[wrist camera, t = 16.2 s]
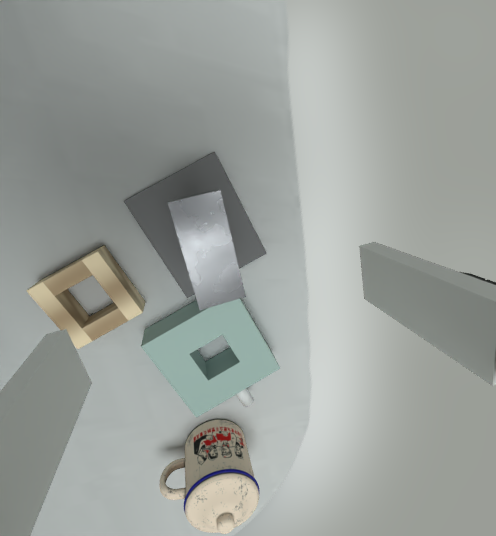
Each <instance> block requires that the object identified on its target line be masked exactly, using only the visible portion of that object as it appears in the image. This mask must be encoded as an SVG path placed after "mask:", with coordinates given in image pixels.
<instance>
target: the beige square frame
mask: <svg viewBox="0 0 496 536" xmlns="http://www.w3.org/2000/svg"><path fill="white" fill-rule="evenodd" d="M92 275H93V276H94V277H95V278H96V280H97V281H98V282H99V284H100V285H101V286H102V287H103V289H104V290H105V291H106V293H107V294H108V295H109V297H110V298H111V299H112V300H113V302H114V303H113V304H111V305H109V306H107V307H106V308H104V309H102V310H100V311H99V312H97V313H95V314H93V315H91V316H89V315H88V314H87V313H86V312H85V310H84V309H83V308H82V307H81V305H80V304H79V303H78V302H77V301H76V299H75V298H74V297H73V296H72V294H71V293H70V292H69V291H68V290H67V289H68V288H70V287H72V286H74V285H75V284H77V283H79V282H81V281H83V280H84V279H86V278H88V277H90V276H92ZM27 292H28V293H29V295H30V296H31V297H32V298H33V299H34V300H35V301H36V302H37V304H38V305H39V306H40V307H41V308H42V309H43V310H44V312H45V313H46V314H47V315H48V316H49V317H50V318H51V320H52V321H53V322H54V323H55V324H56V325H57V326H58V327H59V329H60V330H64V329H67V332H68V334H69V336H70V338H71V340H72V342H73V344H74V346H75V347H76V348H77V349H79V348H81V347H83V346H85V345H86V344H88V343H90V342H92V341H93V340H95V339H97V338H99V337H100V336H102V335H104V334H106V333H108V332H109V331H111V330H113V329H115V328H116V327H118V326H120V325H122V324H123V323H125V322H127V321H129V320H131V319H132V318H134V317H136V316H138V315H139V314H141V313H143V309H144V306H145V301H144V299H143V298H142V297H141V295H140V294H139V292H138V291H137V290H136V288H135V287H134V285H133V284H132V283H131V281H130V280H129V279H128V277H127V276H126V274H125V273H124V272H123V270H122V269H121V267H120V266H119V265H118V263H117V262H116V261H115V259H114V258H113V256H112V255H111V254H110V252H109V251H108V249H107V248H106V247H105V245H104V246H102V247H100V248H98V249H96V250H95V251H93V252H91V253H89V254H87V255H86V256H84V257H82V258H80V259H78V260H76V261H75V262H73V263H71V264H69V265H67V266H66V267H64V268H62V269H60V270H58V271H57V272H55V273H53V274H51V275H49V276H47V277H46V278H44V279H42V280H40V281H39V282H37V283H36V284H35V285H33V286H32V287H31V288H29V289H28V290H27Z"/></svg>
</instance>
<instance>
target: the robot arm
mask: <svg viewBox="0 0 496 536" xmlns="http://www.w3.org/2000/svg"><path fill="white" fill-rule="evenodd" d="M360 257H361V268H362V279H363V290H364V299H366V300H367V301H368V302H370V303H371V304H373V305H374V306H376V307H377V308H379V309H380V310H382V311H383V312H385V313H386V314H387V315H389V316H391V317H392V318H393V319H395V320H397V321H398V322H399V323H401V324H402V325H404V326H405V327H407V328H408V329H410V330H411V331H413V332H414V333H416V334H417V335H418V336H420V337H422V338H423V339H424V340H426V341H427V342H429V343H430V344H432V345H433V346H435V347H436V348H438V349H439V350H440V351H442V352H444V353H445V354H447V355H448V356H449V357H451V358H452V359H454V360H455V361H457V362H458V363H460V364H461V365H463V366H464V367H466V368H467V369H468V370H470V371H471V372H473V373H474V374H476V375H477V376H479V377H480V378H482V379H483V380H485V381H486V382H488V383H489V384H490V385H492V386H494V385H496V282H493V281H490V280H485V279H484V278H481V277H478V276H475V275H473V274H469V273H462V272H457V271H455V270H452V269H449V268H446V267H444V266H440V265H438V264H435V263H432V262H429V261H426V260H424V259H421V258H418V257H415V256H412V255H410V254H407V253H404V252H401V251H398V250H396V249H393V248H390V247H387V246H385V245H382V244H379V243H376V242H372V243H369V244H365V245H361V246H360ZM91 384H92V382H91V380H90V378H89V376H88V374H87V372H86V369H85V367H84V365H83V363H82V361H81V359H80V357H79V355H78V353H77V351H76V348H75V346H74V344H73V342H72V340H71V338H70V336H69V334H68V332H67V329H64V330H60V331H57V332H53V333H49V334H46V336H45V337H44V338H43V339H42V341H41V342H40V343H39V344H38V345H37V347H36V348H35V349H34V350H33V352H32V353H31V354H30V355H29V357H28V358H27V359H26V360H25V362H24V363H23V364H22V365H21V367H20V368H19V369H18V370H17V372H16V373H15V374H14V375H13V377H12V378H11V379H10V380H9V382H8V383H7V384H6V385H5V387H4V388H3V389H2V390H1V392H0V536H30V535H31V532H32V530H33V527H34V525H35V522H36V520H37V517H38V515H39V512H40V510H41V508H42V505H43V503H44V500H45V498H46V495H47V493H48V490H49V488H50V485H51V483H52V480H53V478H54V475H55V473H56V470H57V468H58V465H59V463H60V460H61V458H62V456H63V453H64V451H65V448H66V446H67V443H68V441H69V438H70V436H71V433H72V431H73V428H74V426H75V423H76V421H77V418H78V416H79V413H80V411H81V408H82V406H83V403H84V401H85V399H86V396H87V394H88V391H89V389H90V386H91Z"/></svg>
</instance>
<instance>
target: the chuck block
mask: <svg viewBox="0 0 496 536" xmlns="http://www.w3.org/2000/svg"><path fill="white" fill-rule="evenodd" d="M221 335H223V336H224V338H225V339H226V341H227V343H228V344H229V346H230V348H228V349H226V350H225V351H223V352H221V353H220V354H218V355H216V356H214V357H213V358H211V359H209V360H207V361H206V362H205V360H204V359H203V357H202V356H201V355H200V353H199V352H198V350H197V349H199V348H201V347H202V346H204V345H206V344H208V343H209V342H211V341H213V340H214V339H216V338H218V337H220V336H221ZM141 347H142V348H143V350H144V351H145V352H146V353H147V355H148V356H149V357H150V359H151V360H152V361H153V362H154V364H155V365H156V366H157V368H158V369H159V370H160V371H161V373H162V374H163V375H164V377H165V378H166V379H167V380H168V382H169V383H170V384H171V386H172V387H173V388H174V389H175V391H176V392H177V393H178V395H179V396H180V397H181V398H182V400H183V401H184V402H185V404H186V405H187V406H188V407H189V409H190V410H191V411H192V413H193V414H194V415H195V416H196V418H197V417H198V416H200V415H202V414H203V413H205V412H207V411H209V410H210V409H212V408H214V407H215V406H217V405H219V404H220V403H222V402H224V401H226V400H227V399H229V398H231V397H232V396H234V395H237V397H238V398H239V400H240V401H241V403H242V404H243V406H245V407H248V406H250V405H251V404H252V403H253V401H254V399H253V397H252V396H251V394H250V392H249V391H248V389H247V388H248V387H249V386H251V385H253V384H255V383H256V382H258V381H260V380H261V379H263V378H265V377H266V376H268V375H270V374H272V373H273V372H275V371H277V370H278V369H280V367H279V365H278V363H277V361H276V359H275V357H274V355H273V353H272V352H271V350H270V348H269V346H268V345H267V343H266V341H265V339H264V338H263V336H262V334H261V333H260V331H259V329H258V327H257V326H256V324H255V322H254V321H253V319H252V317H251V315H250V314H249V312H248V310H247V308H246V307H245V305H244V303H243V302H242V300H241V298H240V299H237V300H234V301H230V302H227V303H223V304H220V305H216V306H213V307H210V308H206V309H203V310H199V306H198V303H197V300H196V301H194V302H192V303H191V304H189V305H187V306H185V307H183V308H182V309H180V310H178V311H176V312H175V313H173V314H171V315H169V316H168V317H166V318H164V319H162V320H161V321H159V322H157V323H155V324H154V325H152V326H150V327H148V328H147V329H145V331H144V336H143V340H142V345H141Z"/></svg>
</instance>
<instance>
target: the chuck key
mask: <svg viewBox="0 0 496 536" xmlns="http://www.w3.org/2000/svg"><path fill="white" fill-rule="evenodd" d="M168 206H169V209H170V212H171V216H172V219H173V223H174V226H175V229H176V233H177V236H178V239H179V243H180V246H181V249H182V253H183V256H184V259H185V263H186V266H187V269H188V273H189V276H190V280H191V283H192V286H193V290H194V293H195V296H196V300H197V303H198V306H199V310H203V309H206V308H210V307H213V306H216V305H220V304H223V303H227V302H230V301H234V300H237V299H240V298H244V297H246V296H245V291H244V287H243V283H242V279H241V275H240V270H239V266H238V262H237V258H236V254H235V250H234V245H233V241H232V237H231V233H230V229H229V224H228V220H227V216H226V212H225V208H224V204H223V199H222V195H221V191H220V190H219V189H215V190H211V191H207V192H202V193H198V194H194V195H190V196H186V197H182V198H177V199H173V200H169V201H168Z"/></svg>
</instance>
